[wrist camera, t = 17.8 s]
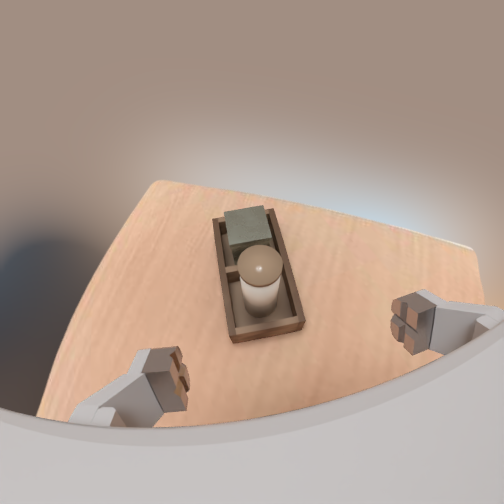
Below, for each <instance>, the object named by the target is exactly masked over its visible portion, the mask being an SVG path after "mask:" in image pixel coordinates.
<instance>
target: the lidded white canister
mask: <svg viewBox="0 0 504 504" xmlns="http://www.w3.org/2000/svg"><path fill="white" fill-rule="evenodd" d="M237 266H238V272H239V275H240V281H241V287H242V294H243V300H244V306H245V309H246V311H247V312H248V313H249V314H250V315H251V316H253V317H256V318H264V317H267V316H269V315H271V314H272V313H273V312H274V310H275V308H276V305H277V298H278V290H279V283H280V276H281V273H282V267H283V262H282V258H281V256H280V254H279V253H278V252H277V251H276V250H275V249H273V248H272V247H269V246H266V245H254V246H251V247H249V248H247V249H245V250H244V251H243V252H242V253H241V255H240V256H239V259H238V263H237Z"/></svg>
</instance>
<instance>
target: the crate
mask: <svg viewBox="0 0 504 504" xmlns="http://www.w3.org/2000/svg"><path fill="white" fill-rule="evenodd" d="M265 214H266V217H267V221H268V224H269V228H270V232H271V235H272V240H271V241H270V247H272V248H273V249H275V250H276V251H277V252H278V253H279V254H280V256H281V258H282V262H283V267H282V273H281V276H280V283H279V290H278V298H277V305H276V308H275V310H274V312H273V313H272V314H271V315H269V316H267V317H264V318H256V317H253V316H251V315H250V314H249V313H248V312H247V311H246V309H245V306H244V300H243V294H242V287H241V281H240V275H239V272H238V266H237V265H235V264H234V259H233V254H232V249H231V248H230V246H229V240H228V234H227V228H226V222H225V217H221V218H215V219H212V220H213V228H214V236H215V243H216V251H217V258H218V265H219V272H220V279H221V286H222V293H223V299H224V306H225V312H226V319H227V325H228V331H229V336H230V338H231V340H232V342H233V343H239V342H245V341H250V340H256V339H261V338H266V337H271V336H276V335H281V334H285V333H290V332H295V331H299V330H302V328H303V325H304V323H305V321H306V320H305V317H304V313H303V309H302V305H301V302H300V298H299V294H298V291H297V287H296V284H295V280H294V277H293V273H292V269H291V266H290V262H289V259H288V255H287V252H286V249H285V245H284V242H283V238H282V235H281V232H280V228H279V225H278V222H277V218H276V215H275V212H274V208H273V209H267V210H265Z"/></svg>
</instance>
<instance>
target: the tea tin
mask: <svg viewBox="0 0 504 504" xmlns="http://www.w3.org/2000/svg"><path fill="white" fill-rule="evenodd" d="M224 216H225V222H226V228H227V234H228V240H229V246H230V248H231V249H232V254H233V259H234V264H235V265H237V263H238V259H239V256H240V255H241V253H242V252H243V251H244V250H245V249H247V248H249V247H251V246H254V245H266V246H269V247H270V241H271V240H272V235H271V232H270V228H269V224H268V221H267V217H266V214H265V210H264V206H263V205H262V206H256V207H250V208H244V209H239V210H233V211H227V212H224Z"/></svg>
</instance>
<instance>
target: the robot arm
mask: <svg viewBox="0 0 504 504" xmlns="http://www.w3.org/2000/svg"><path fill="white" fill-rule="evenodd" d="M391 311H392V312H393V313H394V316H393V317H392V319H391V332H392V335H393V337H394V338H395V339H396V340H397V341H398V342H402V343H404V348H405V349H406V350H407V351H408V352H409V353H410V354H411V355H415V354H417V353H420V352H422V351H425V350H427V349H429V350H432V351H435V352H438V353H440V354H443V355H444V356H442V357H440V358H438V359H436V360H434V361H432V362H430V363H428V364H426V365H424V366H422V367H420V368H418V369H415V370H413V371H411V372H409V373H406V374H404V375H402V376H399V377H397V378H394V379H392V380H389V381H387V382H384V383H382V384H379V385H377V386H374V387H371V388H368V389H366V390H363V391H360V392H357V393H354V394H351V395H348V396H345V397H341V398H338V399H335V400H331V401H328V402H325V403H321V404H317V405H314V406H310V407H306V408H302V409H298V410H293V411H289V412H284V413H280V414H275V415H270V416H264V417H259V418H253V419H247V420H240V421H233V422H226V423H217V424H208V425H197V426H182V427H153V426H154V425H155V423H156V422H157V421H158V420H159V419H160V418H161V417H162V415H163V414H164V413H167V412H178V411H187V404H188V396H187V394H186V393H187V392H188V391H189V389H190V378H189V373H188V370H187V367H186V365H184V364H183V363H182V357H183V356H182V353H181V350H180V348H179V347H178V346H173V347H163V348H153V349H151V348H150V349H142V350H138V352H137V354H136V356H135V358H134V360H133V362H132V364H131V366H130V369H129V371H128V373H127V374H123V375H122V376H120V377H119V378H117V379H116V380H114V381H113V382H111V383H110V384H108V385H107V386H105V387H104V388H102V389H100V390H99V391H97V392H96V393H94V394H93V395H91V396H90V397H88V398H87V399H85V400H84V401H82V402H81V403H79V404H77V406H76V408H75V410H74V412H73V413H72V415H71V417H70V419H69V421H68V422H63V421H56V420H50V419H45V418H40V417H34V416H30V415H25V414H21V413H17V412H13V411H10V410H6V409H3V408H0V504H504V310H502V309H500V308H498V307H496V306H487V305H478V304H470V303H461V302H453V301H449V302H446V301H445V300H443V299H441V298H439V297H438V296H436V295H434V294H432V293H431V292H429V291H427V290H425V289H422V290H419V291H417V292H414V293H411V294H409V295H406V296H403V297H400V298H397V299H395V300H393V302H392V307H391ZM152 427H153V428H152Z"/></svg>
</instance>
